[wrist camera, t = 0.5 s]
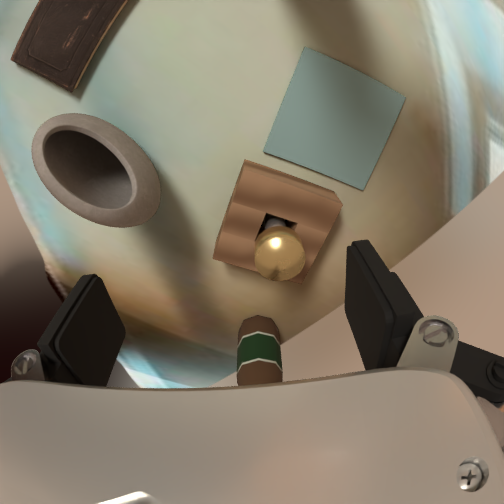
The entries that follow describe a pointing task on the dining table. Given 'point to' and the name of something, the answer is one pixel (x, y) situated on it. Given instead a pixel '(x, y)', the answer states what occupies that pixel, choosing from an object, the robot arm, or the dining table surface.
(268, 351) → the beer bottle
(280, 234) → the pin
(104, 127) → the planter
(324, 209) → the block
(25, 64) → the hardcover book
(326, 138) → the mat
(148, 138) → the dining table surface
